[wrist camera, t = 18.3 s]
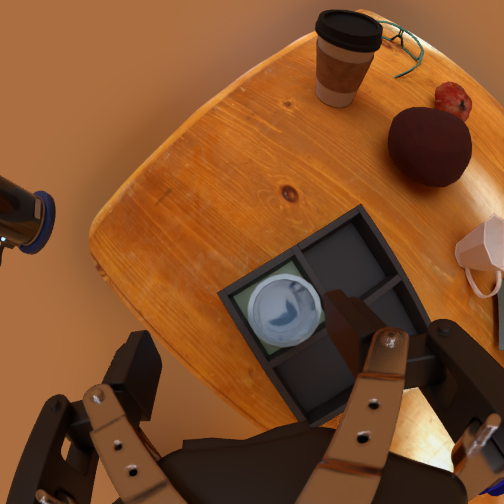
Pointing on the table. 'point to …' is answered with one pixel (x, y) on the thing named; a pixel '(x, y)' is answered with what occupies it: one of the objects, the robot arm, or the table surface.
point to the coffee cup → (344, 54)
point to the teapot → (501, 315)
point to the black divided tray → (323, 280)
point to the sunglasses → (403, 45)
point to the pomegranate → (453, 100)
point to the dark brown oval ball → (430, 145)
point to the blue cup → (284, 310)
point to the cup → (483, 251)
